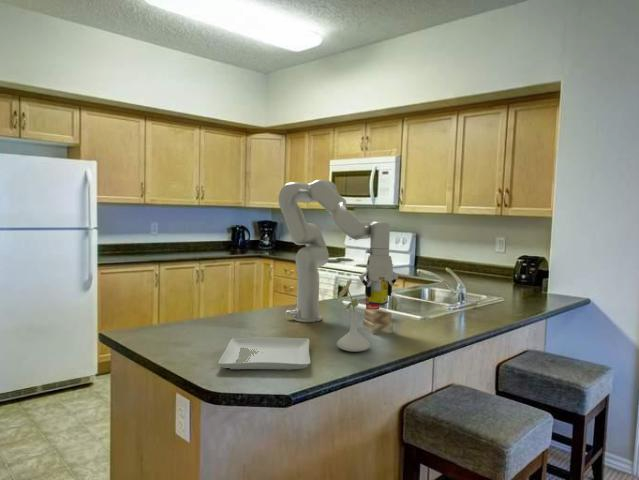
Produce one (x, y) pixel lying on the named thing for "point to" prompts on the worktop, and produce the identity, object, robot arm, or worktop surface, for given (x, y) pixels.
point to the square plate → (268, 353)
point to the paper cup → (371, 305)
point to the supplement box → (379, 292)
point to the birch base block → (377, 327)
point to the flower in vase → (352, 328)
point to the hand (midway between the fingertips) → (378, 295)
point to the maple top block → (378, 316)
